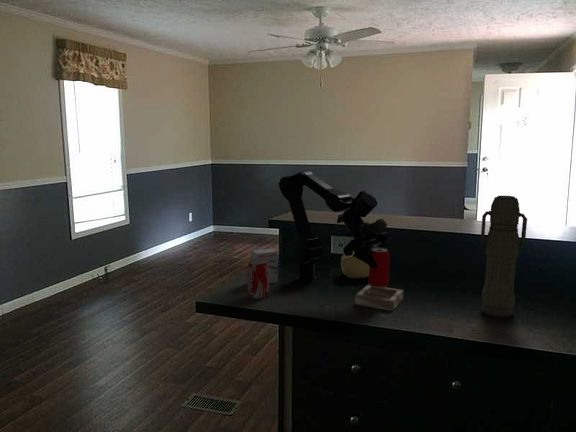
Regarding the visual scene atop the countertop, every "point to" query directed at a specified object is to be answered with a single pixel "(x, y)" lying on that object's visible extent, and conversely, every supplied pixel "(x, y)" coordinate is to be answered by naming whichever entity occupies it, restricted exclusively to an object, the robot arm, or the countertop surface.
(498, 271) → the thermos
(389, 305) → the can holder
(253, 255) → the ink box
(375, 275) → the beverage can
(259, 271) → the soda can
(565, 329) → the countertop surface
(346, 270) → the sculpture
